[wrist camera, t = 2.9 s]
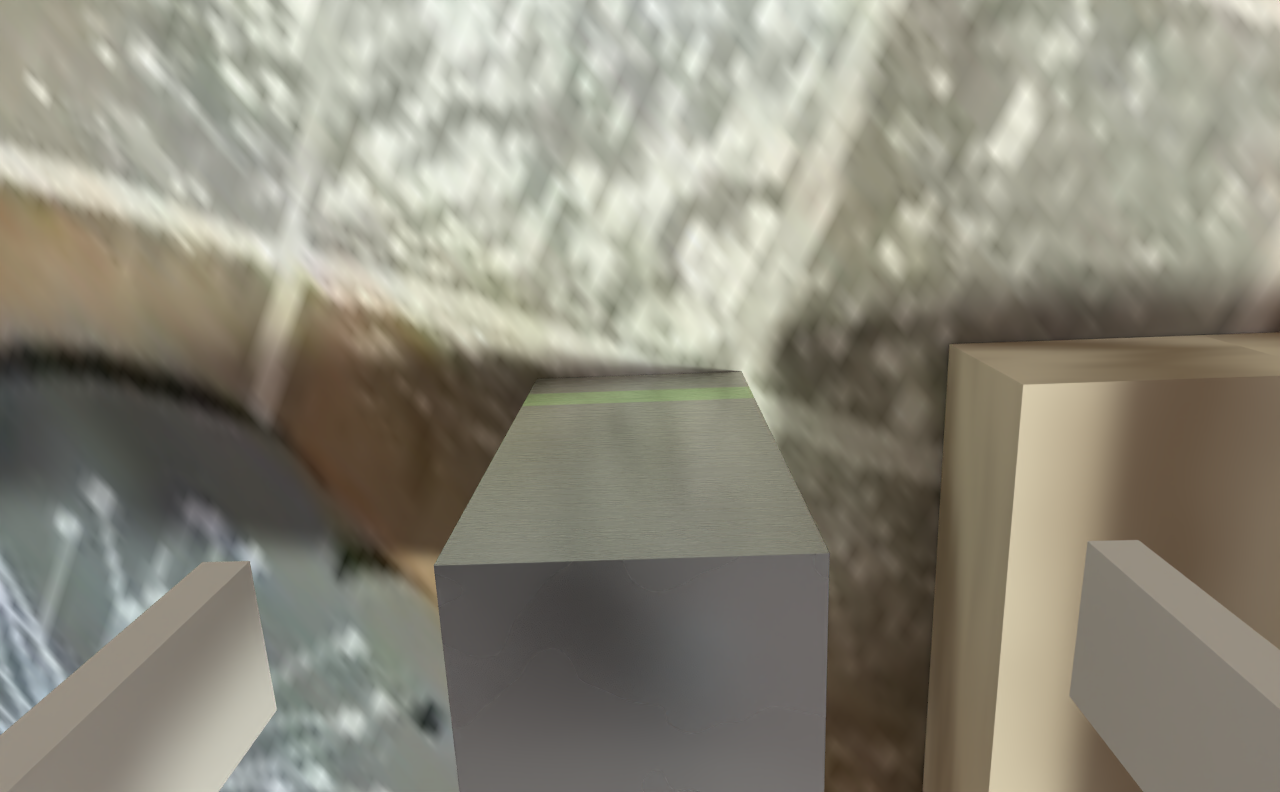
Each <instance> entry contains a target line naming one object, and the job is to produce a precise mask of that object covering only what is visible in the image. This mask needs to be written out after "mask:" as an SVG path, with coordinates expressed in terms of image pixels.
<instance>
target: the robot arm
mask: <svg viewBox="0 0 1280 792" xmlns="http://www.w3.org/2000/svg"><path fill="white" fill-rule="evenodd" d="M1069 696H1070V698H1071V699H1072V700H1073V701H1074V703H1075V704H1076V705H1077V707H1078V708H1079V709H1080V711H1081V712H1082V713H1083V714H1084V716H1085V717H1086V718H1087V720H1088V721H1089V722H1090V723H1091V725H1092V726H1093V727H1094V729H1095V730H1096V731H1097V733H1098V734H1099V735H1100V736H1101V738H1102V739H1103V740H1104V742H1105V743H1106V744H1107V745H1108V747H1109V748H1110V749H1111V751H1112V752H1113V753H1114V755H1115V756H1116V757H1117V758H1118V760H1119V761H1120V762H1121V764H1122V765H1123V766H1124V767H1125V769H1126V770H1127V771H1128V773H1129V774H1130V775H1131V777H1132V778H1133V779H1134V780H1135V782H1136V783H1137V784H1138V786H1139V787H1140V788H1141V789H1142V791H1143V792H1280V650H1279V649H1278V648H1277V647H1275V646H1274V645H1273V644H1271V643H1270V642H1269V641H1268V640H1266V639H1265V638H1264V637H1262V636H1261V635H1260V634H1259V633H1257V632H1256V631H1255V630H1253V629H1252V628H1251V627H1250V626H1248V625H1247V624H1246V623H1244V622H1243V621H1242V620H1241V619H1239V618H1238V617H1237V616H1235V615H1234V614H1233V613H1232V612H1230V611H1229V610H1228V609H1226V608H1225V607H1224V606H1223V605H1221V604H1220V603H1219V602H1217V601H1216V600H1215V599H1214V598H1212V597H1211V596H1210V595H1208V594H1207V593H1206V592H1205V591H1203V590H1202V589H1201V588H1200V587H1198V586H1197V585H1196V584H1194V583H1193V582H1192V581H1191V580H1189V579H1188V578H1187V577H1185V576H1184V575H1183V574H1182V573H1180V572H1179V571H1178V570H1176V569H1175V568H1174V567H1173V566H1171V565H1170V564H1169V563H1167V562H1166V561H1165V560H1164V559H1162V558H1161V557H1160V556H1158V555H1157V554H1156V553H1155V552H1153V551H1152V550H1151V549H1149V548H1148V547H1147V546H1146V545H1144V544H1143V543H1142V542H1140V541H1139V540H1113V541H1088V542H1087V550H1086V559H1085V567H1084V576H1083V584H1082V593H1081V601H1080V610H1079V618H1078V627H1077V635H1076V644H1075V652H1074V660H1073V669H1072V677H1071V686H1070V694H1069ZM276 710H277V708H276V702H275V697H274V691H273V686H272V680H271V675H270V669H269V664H268V659H267V653H266V648H265V642H264V637H263V631H262V626H261V620H260V615H259V610H258V604H257V599H256V593H255V588H254V582H253V577H252V571H251V566H250V561H233V562H202V563H201V564H200V565H199V566H198V567H196V568H195V569H194V570H193V571H192V572H191V573H189V574H188V575H187V576H186V577H185V578H184V579H182V580H181V581H180V582H179V583H178V584H177V585H175V586H174V587H173V588H172V589H171V590H170V591H168V592H167V593H166V594H165V595H164V596H163V597H161V598H160V599H159V600H158V601H157V602H156V603H154V604H153V605H152V606H151V607H150V608H149V609H147V610H146V611H145V612H144V613H143V614H142V615H140V616H139V617H138V618H137V619H136V620H135V621H133V622H132V623H131V624H130V625H129V626H128V627H126V628H125V629H124V630H123V631H122V632H121V633H119V634H118V635H117V636H116V637H115V638H114V639H112V640H111V641H110V642H109V643H108V644H107V645H105V646H104V647H103V648H102V649H101V650H100V651H98V652H97V653H96V654H95V655H94V656H93V657H91V658H90V659H89V660H88V661H87V662H86V663H84V664H83V665H82V666H81V667H80V668H79V669H77V670H76V671H75V672H74V673H73V674H72V675H70V676H69V677H68V678H67V679H66V680H65V681H63V682H62V683H61V684H60V685H59V686H58V687H56V688H55V689H54V690H53V691H52V692H51V693H49V694H48V695H47V696H46V697H45V698H44V699H42V700H41V701H40V702H39V703H38V704H37V705H35V706H34V707H33V708H32V709H31V710H30V711H28V712H27V713H26V714H25V715H24V716H23V717H21V718H20V719H19V720H18V721H17V722H15V723H14V724H13V725H12V726H11V727H10V728H8V729H7V730H6V731H5V732H4V733H3V734H1V735H0V792H219V790H220V789H221V788H222V786H223V785H224V783H225V782H226V781H227V779H228V778H229V776H230V775H231V774H232V772H233V771H234V769H235V768H236V767H237V765H238V764H239V762H240V761H241V760H242V758H243V757H244V755H245V754H246V753H247V751H248V750H249V748H250V747H251V745H252V744H253V743H254V741H255V740H256V738H257V737H258V736H259V734H260V733H261V731H262V730H263V729H264V727H265V726H266V724H267V723H268V722H269V720H270V719H271V717H272V716H273V715H274V713H275V712H276Z"/></svg>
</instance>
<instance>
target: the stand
mask: <svg viewBox="0 0 1280 792" xmlns="http://www.w3.org/2000/svg"><path fill="white" fill-rule="evenodd" d="M1113 540H1139V541H1140V542H1142V543H1143V544H1144V545H1146V546H1147V547H1148V548H1149V549H1151V550H1152V551H1153V552H1155V553H1156V554H1157V555H1158V556H1160V557H1161V558H1162V559H1164V560H1165V561H1166V562H1167V563H1169V564H1170V565H1171V566H1173V567H1174V568H1175V569H1176V570H1178V571H1179V572H1180V573H1182V574H1183V575H1184V576H1185V577H1187V578H1188V579H1189V580H1191V581H1192V582H1193V583H1194V584H1196V585H1197V586H1198V587H1200V588H1201V589H1202V590H1203V591H1205V592H1206V593H1207V594H1208V595H1210V596H1211V597H1212V598H1214V599H1215V600H1216V601H1217V602H1219V603H1220V604H1221V605H1223V606H1224V607H1225V608H1226V609H1228V610H1229V611H1230V612H1232V613H1233V614H1234V615H1235V616H1237V617H1238V618H1239V619H1241V620H1242V621H1243V622H1244V623H1246V624H1247V625H1248V626H1250V627H1251V628H1252V629H1253V630H1255V631H1256V632H1257V633H1259V634H1260V635H1261V636H1262V637H1264V638H1265V639H1266V640H1268V641H1269V642H1270V643H1271V644H1273V645H1274V646H1275V647H1277V648H1278V649H1279V650H1280V332H1276V333H1248V334H1220V335H1192V336H1164V337H1136V338H1108V339H1081V340H1053V341H1025V342H997V343H969V344H949V360H948V376H947V393H946V410H945V426H944V443H943V460H942V476H941V493H940V510H939V527H938V543H937V560H936V577H935V593H934V610H933V627H932V643H931V660H930V677H929V694H928V710H927V727H926V744H925V760H924V777H923V792H1143V791H1142V789H1141V788H1140V787H1139V786H1138V784H1137V783H1136V782H1135V780H1134V779H1133V778H1132V777H1131V775H1130V774H1129V773H1128V771H1127V770H1126V769H1125V767H1124V766H1123V765H1122V764H1121V762H1120V761H1119V760H1118V758H1117V757H1116V756H1115V755H1114V753H1113V752H1112V751H1111V749H1110V748H1109V747H1108V745H1107V744H1106V743H1105V742H1104V740H1103V739H1102V738H1101V736H1100V735H1099V734H1098V733H1097V731H1096V730H1095V729H1094V727H1093V726H1092V725H1091V723H1090V722H1089V721H1088V720H1087V718H1086V717H1085V716H1084V714H1083V713H1082V712H1081V711H1080V709H1079V708H1078V707H1077V705H1076V704H1075V703H1074V701H1073V700H1072V699H1071V698H1070V696H1069V694H1070V686H1071V677H1072V669H1073V660H1074V652H1075V644H1076V635H1077V627H1078V618H1079V610H1080V601H1081V593H1082V584H1083V576H1084V567H1085V559H1086V550H1087V542H1088V541H1113Z"/></svg>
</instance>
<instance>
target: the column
mask: <svg viewBox="0 0 1280 792" xmlns="http://www.w3.org/2000/svg"><path fill="white" fill-rule="evenodd" d="M829 557H830V553H829V551H828V549H827V547H826V545H825V543H824V541H823V539H822V537H821V535H820V532H819V530H818V528H817V526H816V524H815V522H814V520H813V518H812V516H811V514H810V512H809V510H808V508H807V506H806V504H805V502H804V499H803V497H802V495H801V493H800V491H799V489H798V487H797V485H796V483H795V481H794V479H793V477H792V475H791V473H790V471H789V469H788V466H787V464H786V462H785V460H784V458H783V456H782V454H781V452H780V450H779V448H778V446H777V444H776V442H775V440H774V438H773V435H772V433H771V431H770V429H769V427H768V425H767V423H766V421H765V419H764V417H763V415H762V413H761V411H760V409H759V407H758V405H757V402H756V400H755V398H754V396H753V394H752V392H751V390H750V388H749V386H748V384H747V382H746V380H745V378H744V376H743V374H742V371H738V372H709V373H681V374H653V375H625V376H596V377H568V378H540V379H537V380H536V382H535V384H534V385H533V387H532V389H531V391H530V393H529V394H528V396H527V398H526V400H525V402H524V403H523V405H522V407H521V409H520V411H519V413H518V414H517V416H516V418H515V420H514V422H513V423H512V425H511V427H510V429H509V431H508V432H507V434H506V436H505V438H504V440H503V441H502V443H501V445H500V447H499V449H498V451H497V452H496V454H495V456H494V458H493V460H492V461H491V463H490V465H489V467H488V469H487V470H486V472H485V474H484V476H483V478H482V479H481V481H480V483H479V485H478V487H477V488H476V490H475V492H474V494H473V496H472V498H471V499H470V501H469V503H468V505H467V507H466V508H465V510H464V512H463V514H462V516H461V517H460V519H459V521H458V523H457V525H456V526H455V528H454V530H453V532H452V534H451V536H450V537H449V539H448V541H447V543H446V545H445V546H444V548H443V550H442V552H441V554H440V555H439V557H438V559H437V561H436V563H435V564H434V571H435V580H436V589H437V598H438V607H439V615H440V624H441V633H442V642H443V651H444V659H445V668H446V677H447V686H448V695H449V703H450V712H451V721H452V730H453V739H454V747H455V756H456V765H457V774H458V783H459V791H460V792H824V773H825V730H826V687H827V644H828V600H829Z"/></svg>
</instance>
